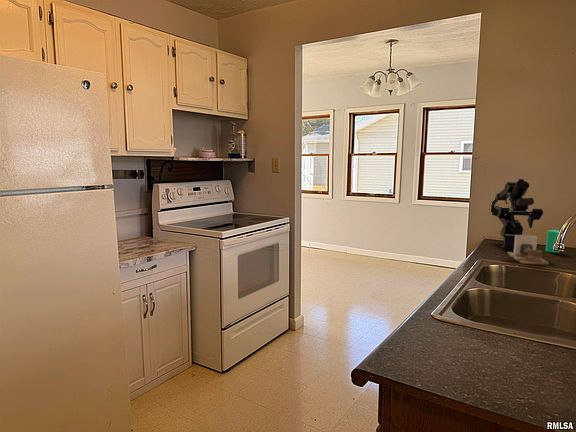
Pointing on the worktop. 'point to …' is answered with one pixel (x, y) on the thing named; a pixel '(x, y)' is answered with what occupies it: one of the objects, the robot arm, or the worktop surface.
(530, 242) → the sleeve
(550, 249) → the candle
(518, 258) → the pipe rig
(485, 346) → the worktop surface
